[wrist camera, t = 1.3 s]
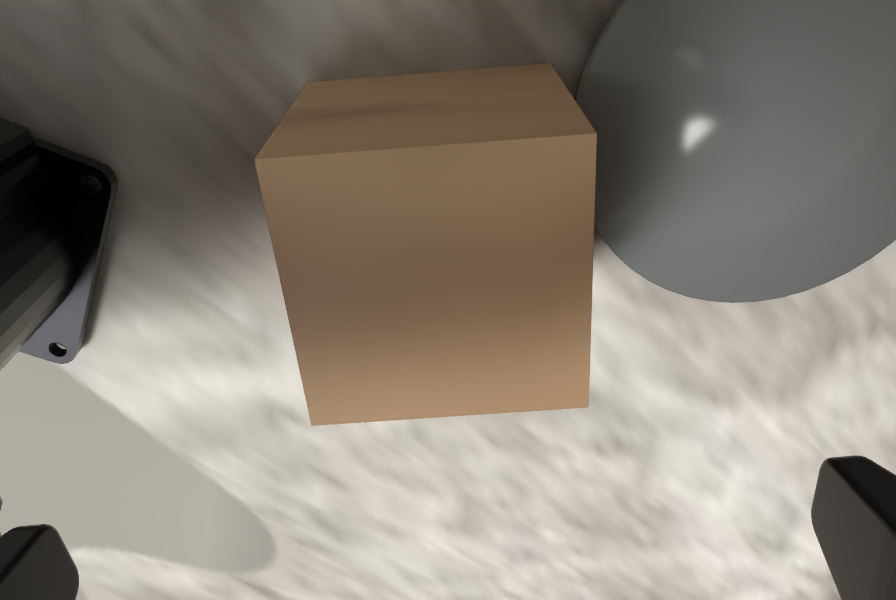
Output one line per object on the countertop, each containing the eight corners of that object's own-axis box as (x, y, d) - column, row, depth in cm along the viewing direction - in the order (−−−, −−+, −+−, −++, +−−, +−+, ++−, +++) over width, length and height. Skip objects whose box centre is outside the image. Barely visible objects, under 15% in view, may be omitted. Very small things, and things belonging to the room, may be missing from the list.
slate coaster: (802, 338, 22) (812, 348, 21) (505, 215, 19) (507, 224, 19) (1064, 14, 17) (1084, 18, 17) (714, -191, 15) (724, -193, 14)
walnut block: (550, 276, 21) (588, 407, 15) (343, 291, 21) (311, 425, 15) (549, 62, 18) (596, 133, 12) (307, 81, 18) (254, 159, 12)
